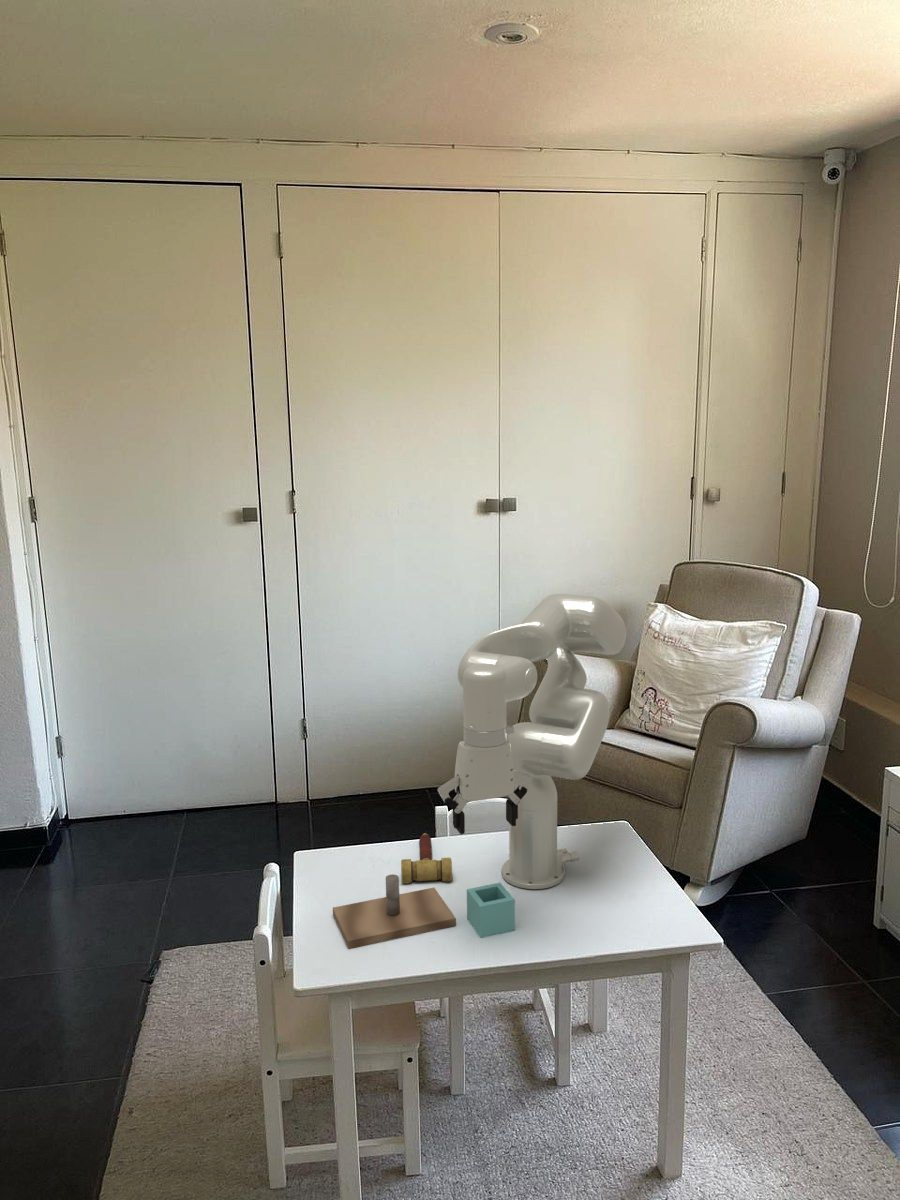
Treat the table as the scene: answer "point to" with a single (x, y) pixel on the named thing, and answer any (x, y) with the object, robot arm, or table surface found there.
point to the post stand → (392, 915)
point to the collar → (490, 909)
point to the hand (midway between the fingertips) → (485, 827)
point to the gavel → (426, 865)
